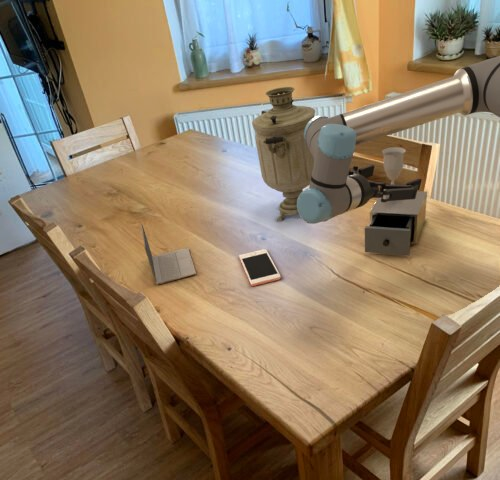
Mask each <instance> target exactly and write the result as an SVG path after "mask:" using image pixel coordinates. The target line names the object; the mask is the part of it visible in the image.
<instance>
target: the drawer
mask: <svg viewBox="0 0 500 480" xmlns="http://www.w3.org/2000/svg"><path fill="white" fill-rule="evenodd" d="M414 222H415V217H407V216H388V215H374V217H373V219H372V221H371V223H370V222H369V225H366V226H365V227H364V253H370V254H382V255H394V256H405V257H409V255H410V250H411V248H410V247H411V244H410V243H411V241H412V238H413V236H414Z"/></svg>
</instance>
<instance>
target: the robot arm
mask: <svg viewBox="0 0 500 480" xmlns="http://www.w3.org/2000/svg"><path fill="white" fill-rule="evenodd" d="M476 113H491V114H493V115H495V116H496V117H498V118H500V55H498V56H494V57H490V58H488V59H485V60H482V61H479V62H476V63H472V64H470V65H468V66H467V65H466V66H465V67H461V68H459V69H457V70H456V71H455V72H454V74H453V76H450V77H447V78H444V79H441V80H439V81H438V80H437V81H435V82H433V83H429V84H426V85H423V86H421V87H417V88H415V89H412V90H408V91H406V92H403V93H400V94H397V95H394V96H390V97H388V98H385V99H381V100H379V101H376V102H372V103H369V104H366V105H364V106H361V107H358V108H355V109H352V110H349V111H346V112H343V113H339V114H336V115H333V116H330V117H328V116H326V115H315V116H314V118H312V119H311V120H310V121H309V122H308V123H307V125H306V127H305V131H304V138H305V143H306V145H307V147H308V149H309V150H310V152H311V154H312V156H313V158H314V166H313V172H312V176H311V181H310V185H309V186H308V188H305V190H303V192H302V193H301V194H300V195H299V197H298V199H297V210H298V213H299V214H298V215H299V216H300V218H301V219H302V220H303V221H304V222H306V223H307V224H311V225H315V224H319V223H323V222H327V221H329V220H331V219H333V218H336V217H338V216H340V215H343V214H345V213H347V212H350V211H353V210H356V209H359V208H361V207H364V206H365V205H366V204H367V203H368V202H369V201H370V200H371V199H377V198H381V202H388V201H396V200H410V199H415V198H416V194H417V191H420V188H421V184H422V181H423V180H422V179H423V178H416V179H414V180H411V181H408V182H406V183H405V184H395V185H391V183H390V184H386V183H385V182H384V181H374V180H368V178H371V177H373V176H374V171H375V167H376V166H375V165H374V164H371V165H368V166H363V167H361V168H359V166H358V165H354V166H353V167H352V170H351V165H352V160H353V157H354V153H355V151H356V146H359V145H362V144H365V143H369V142H372V141H373V140H377V139H382V138H383V137H387V136H391V135H393V134H397V133H400V132H402V131H406V130H409V129H413V128H416V127H419V126H422V125H424V124H428V123H430V122H431V123H432V122H434V121H437V120H440V119H444V118H447V117H451V116H453V115H456V114H461V115H462V116H468V115H469V116H470V115H472V114H476Z"/></svg>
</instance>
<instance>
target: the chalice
mask: <svg viewBox="0 0 500 480" xmlns="http://www.w3.org/2000/svg"><path fill="white" fill-rule="evenodd" d="M381 153H382V155H383V170H384V172H385V173H384V174H386V177H387V179H388V180H390V181H391V182H390V185H396V184H395V180H398V178H399V176H400V174H401V173H402V170H403V168H404V157H405V156H404V155H405V154H406V149H405V148H403V147H399V146H397V147H395V146H393V147H387V148H385V149H383V150H381Z"/></svg>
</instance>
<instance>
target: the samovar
mask: <svg viewBox="0 0 500 480" xmlns="http://www.w3.org/2000/svg"><path fill="white" fill-rule="evenodd" d="M295 89H296V88H295V87H292V86H282V87H277V88H274V89H270V90H267V91H266V92H265V96H267V97H268V98H269V103H270V105H271V106H272V108H270V109H269V110H268V111H265V112H263V113H261V114H260V115H258V116H256V117H255V118H254V119H253V120H252V121H251V125H252V127H253V130H254V132H255V137H254V138H255V146H256V151H257V156H258V163H259V167H260V174H261V178H262V180H263V182H264V184H265V185H267V187H269V188H271V189H273V190H275V191H277V192H280V193H282V197H283V198H285V199H283V200H282V201H281V202H280V204H279V207H278V211H279V215H278V216H277V218H276V219H277V221H280V222H281V221H283V219H284V218H285V217H286V216H297V215H299V213H298V210H297V199H298V197H299V195H300V194H301V193H302V192H303V191H304V190H303V189H307V187H309V186H310V181H311V176H312V172H313V166H314V158H313V156H312V154H311V152H310V150H309V149H308V147H307V145H306V143H305V138H304V131H305V127H306V125H307V123H308V122H309V121H310V120H311V119H312V118H314V117H316V115H315V114H316V109H315V108H313V107H311V106H306V105H295V104H293V103H294V101H295V100H294V99H293V93H294V91H295Z"/></svg>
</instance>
